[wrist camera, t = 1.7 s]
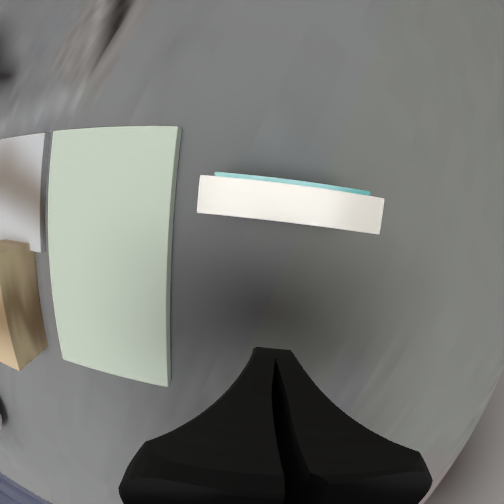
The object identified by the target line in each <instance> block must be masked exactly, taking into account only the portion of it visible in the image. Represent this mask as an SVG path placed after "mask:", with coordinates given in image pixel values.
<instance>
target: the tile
mask: <svg viewBox="0 0 504 504" xmlns="http://www.w3.org/2000/svg"><path fill="white" fill-rule="evenodd" d="M383 207H384V198H378V197H372V196H370V192H369V191H363V190H357V189H351V188H345V187H339V186H332V185H326V184H319V183H312V182H305V181H297V180H289V179H281V178H273V177H264V176H255V175H245V174H235V173H223V172H215V176H205V175H200V182H199V193H198V205H197V213H207V214H217V215H226V216H236V217H245V218H254V219H263V220H272V221H281V222H289V223H297V224H305V225H313V226H321V227H329V228H337V229H344V230H351V231H359V232H366V233H373V234H379V233H380V227H381V220H382V214H383Z"/></svg>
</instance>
